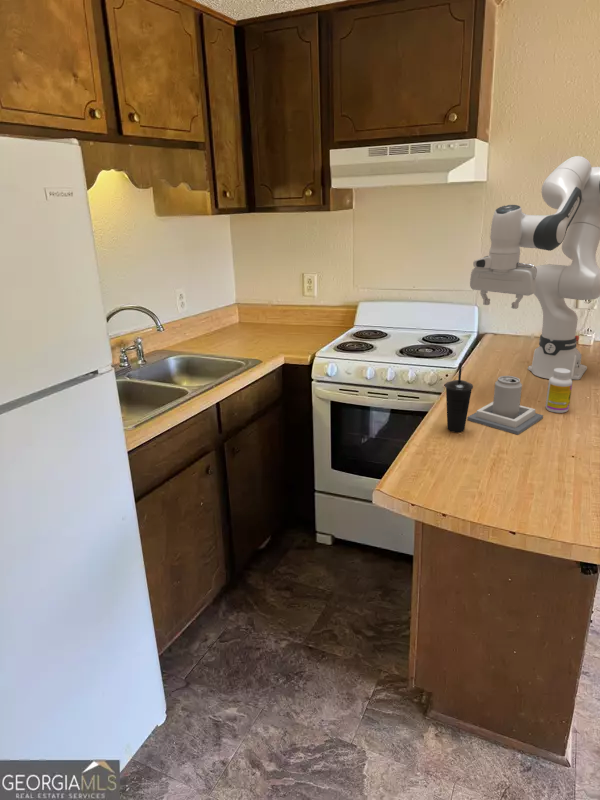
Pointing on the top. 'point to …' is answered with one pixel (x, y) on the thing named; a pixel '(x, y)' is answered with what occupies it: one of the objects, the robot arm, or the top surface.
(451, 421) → the drinking cup
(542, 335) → the robot arm
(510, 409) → the can
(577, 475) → the top surface
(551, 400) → the supplement bottle
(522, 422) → the grey flat square tray
